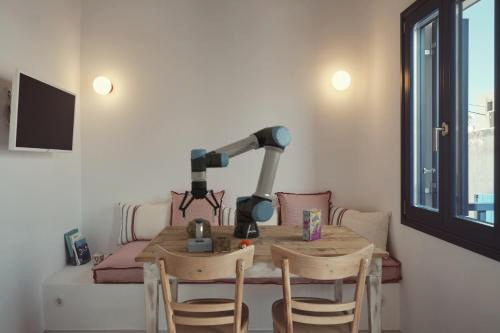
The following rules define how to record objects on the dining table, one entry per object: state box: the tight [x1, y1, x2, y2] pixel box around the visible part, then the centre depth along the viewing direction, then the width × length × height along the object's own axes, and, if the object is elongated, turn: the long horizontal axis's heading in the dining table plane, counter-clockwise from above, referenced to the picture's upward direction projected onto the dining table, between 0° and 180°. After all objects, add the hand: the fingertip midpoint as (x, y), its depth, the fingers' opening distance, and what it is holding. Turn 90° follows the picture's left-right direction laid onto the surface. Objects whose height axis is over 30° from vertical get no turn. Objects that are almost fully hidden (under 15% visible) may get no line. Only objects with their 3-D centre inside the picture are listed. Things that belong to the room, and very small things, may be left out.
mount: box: [211, 235, 232, 253], centre depth 166 cm, size 8×8×6 cm
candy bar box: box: [302, 208, 322, 242], centre depth 188 cm, size 11×5×16 cm, turn 134°
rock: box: [185, 218, 212, 238], centre depth 202 cm, size 20×14×10 cm
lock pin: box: [194, 218, 205, 243], centre depth 168 cm, size 4×4×15 cm
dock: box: [186, 237, 213, 254], centre depth 168 cm, size 11×11×4 cm
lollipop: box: [237, 225, 256, 249], centre depth 171 cm, size 6×10×12 cm, turn 95°
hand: (199, 223), depth 168 cm, fingers open, 13 cm apart
